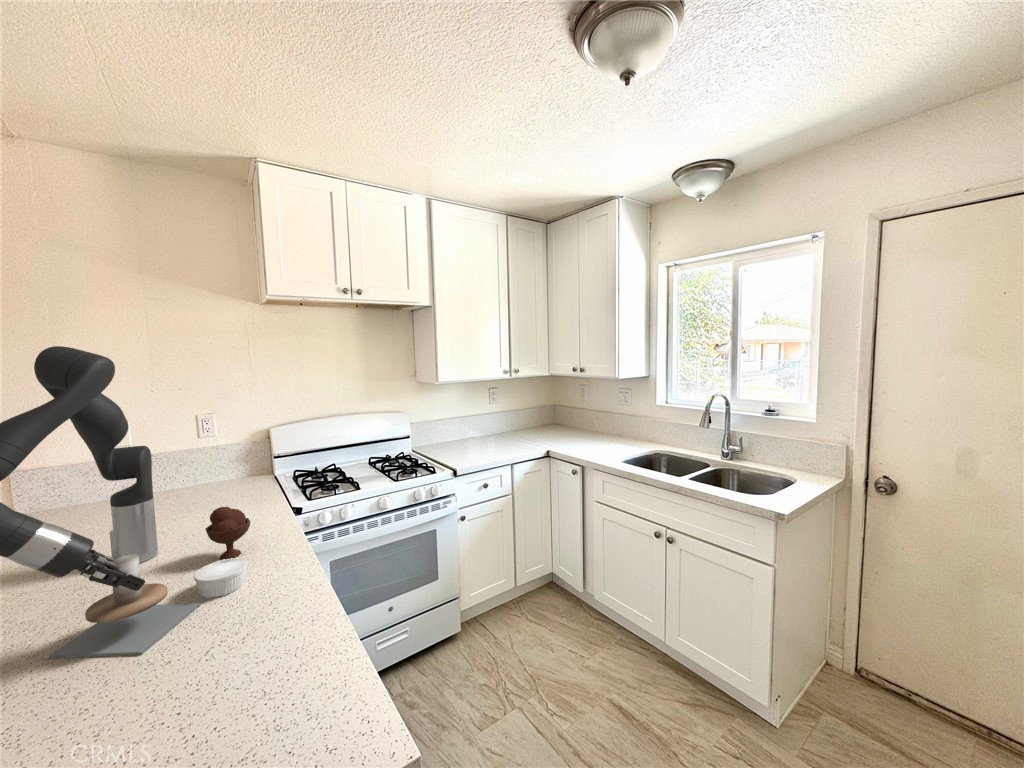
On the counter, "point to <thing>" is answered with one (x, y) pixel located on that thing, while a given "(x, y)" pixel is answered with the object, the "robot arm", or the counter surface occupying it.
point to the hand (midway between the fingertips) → (138, 581)
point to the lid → (126, 596)
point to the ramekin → (221, 577)
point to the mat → (126, 633)
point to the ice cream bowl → (227, 529)
